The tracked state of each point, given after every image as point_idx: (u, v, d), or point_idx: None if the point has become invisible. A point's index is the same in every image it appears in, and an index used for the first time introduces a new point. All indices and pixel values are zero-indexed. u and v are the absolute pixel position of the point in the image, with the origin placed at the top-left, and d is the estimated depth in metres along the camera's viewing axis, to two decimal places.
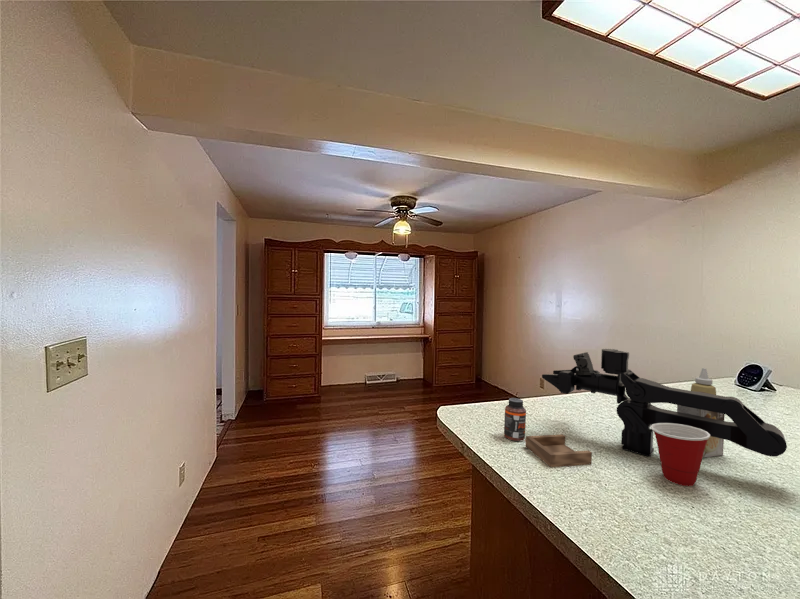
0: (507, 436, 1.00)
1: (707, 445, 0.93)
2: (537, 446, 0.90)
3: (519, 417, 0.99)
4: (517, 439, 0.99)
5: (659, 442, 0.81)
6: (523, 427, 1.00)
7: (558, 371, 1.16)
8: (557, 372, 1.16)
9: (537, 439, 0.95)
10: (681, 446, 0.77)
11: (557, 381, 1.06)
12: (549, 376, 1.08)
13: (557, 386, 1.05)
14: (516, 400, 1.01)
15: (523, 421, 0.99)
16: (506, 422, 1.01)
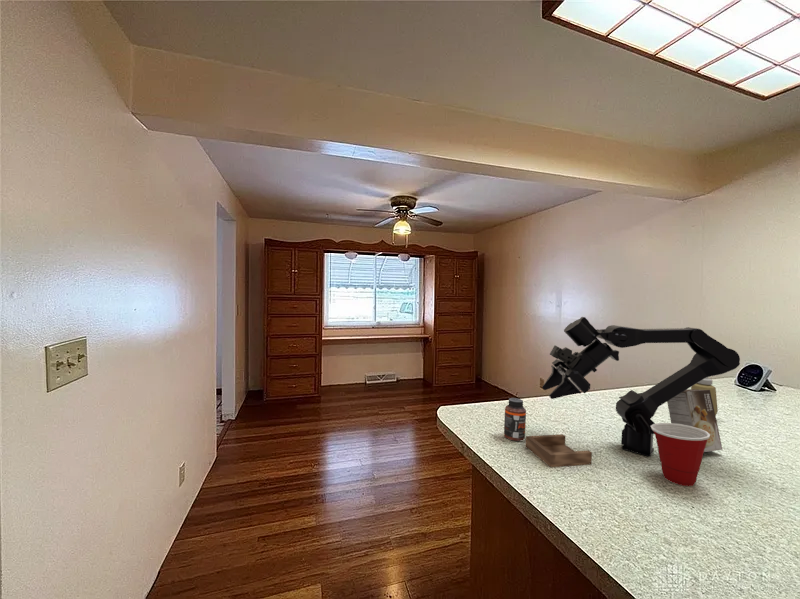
0: (507, 436, 1.00)
1: None
2: (537, 446, 0.90)
3: (519, 417, 0.99)
4: (517, 439, 0.99)
5: (659, 442, 0.81)
6: (523, 427, 1.00)
7: (546, 384, 1.05)
8: (546, 385, 1.05)
9: (537, 439, 0.95)
10: (681, 446, 0.77)
11: (567, 388, 0.94)
12: (557, 391, 0.95)
13: (573, 392, 0.93)
14: (516, 400, 1.01)
15: (523, 421, 0.99)
16: (506, 422, 1.01)
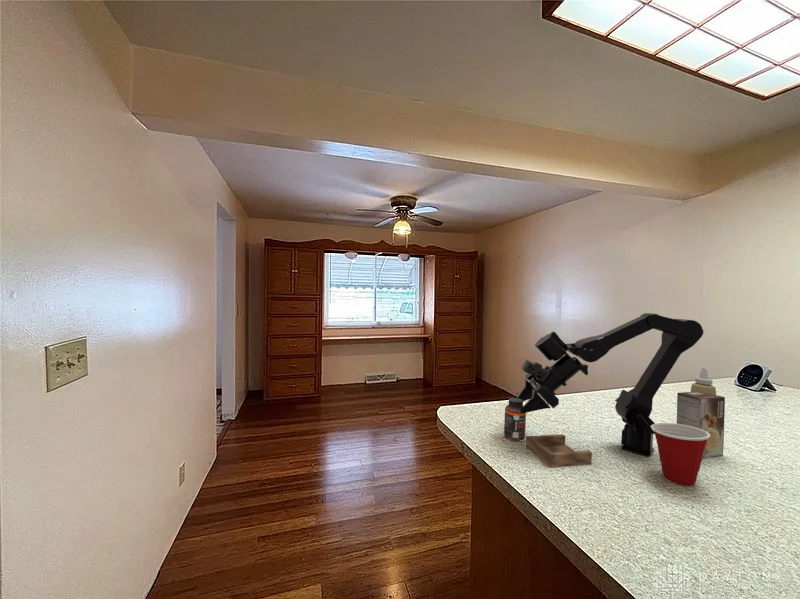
0: (507, 436, 1.00)
1: (707, 445, 0.93)
2: (537, 446, 0.90)
3: (519, 417, 0.99)
4: (517, 439, 0.99)
5: (659, 442, 0.81)
6: (523, 427, 1.00)
7: (519, 397, 1.06)
8: None
9: (537, 439, 0.95)
10: (681, 446, 0.77)
11: (537, 403, 0.95)
12: (528, 405, 0.96)
13: (542, 407, 0.94)
14: (516, 400, 1.01)
15: (523, 421, 0.99)
16: (506, 422, 1.01)
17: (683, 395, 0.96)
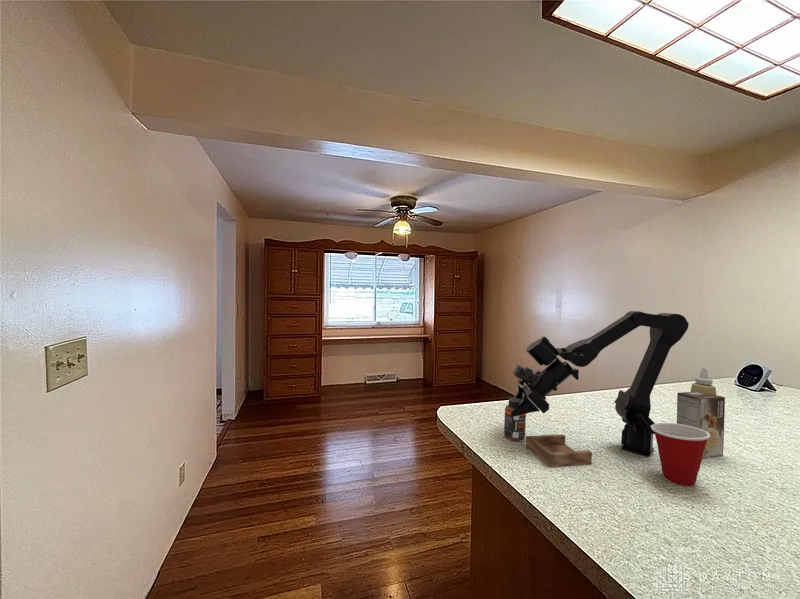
0: (507, 436, 1.00)
1: (707, 445, 0.93)
2: (537, 446, 0.90)
3: (519, 417, 0.99)
4: (517, 439, 0.99)
5: (659, 442, 0.81)
6: (523, 427, 1.00)
7: None
8: None
9: (537, 439, 0.95)
10: (681, 446, 0.77)
11: (527, 406, 0.97)
12: (518, 409, 0.98)
13: (532, 410, 0.96)
14: (516, 400, 1.01)
15: (523, 421, 0.99)
16: (506, 422, 1.01)
17: (683, 395, 0.96)
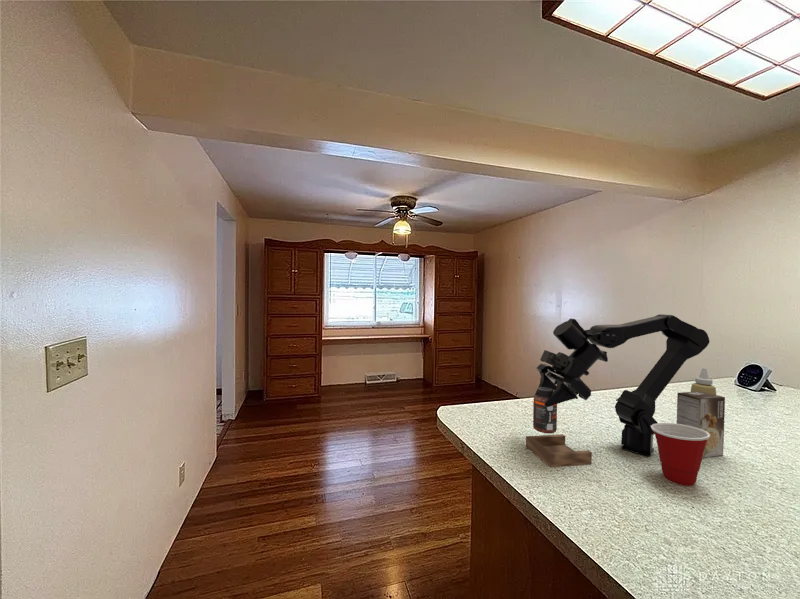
0: (540, 429, 0.92)
1: (707, 445, 0.93)
2: (537, 446, 0.90)
3: (553, 407, 0.91)
4: (551, 431, 0.91)
5: (659, 442, 0.81)
6: (556, 417, 0.92)
7: None
8: None
9: (537, 439, 0.95)
10: (681, 446, 0.77)
11: (563, 394, 0.90)
12: (553, 398, 0.90)
13: (569, 398, 0.89)
14: (546, 389, 0.93)
15: (556, 411, 0.92)
16: (538, 414, 0.92)
17: (683, 395, 0.96)
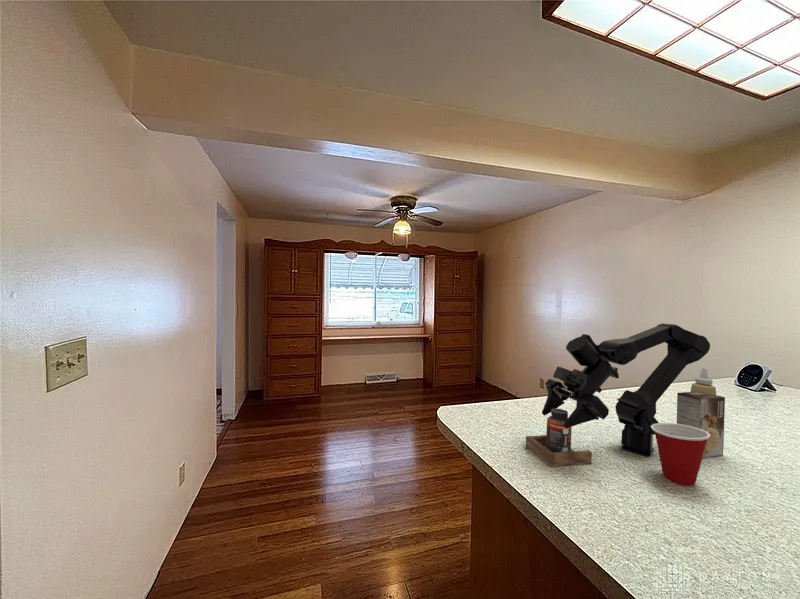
0: None
1: (707, 445, 0.93)
2: (537, 446, 0.90)
3: (568, 430, 0.88)
4: None
5: (659, 442, 0.81)
6: (570, 440, 0.90)
7: (546, 408, 0.95)
8: (546, 410, 0.95)
9: (537, 439, 0.95)
10: (681, 446, 0.77)
11: (583, 414, 0.86)
12: (573, 419, 0.86)
13: (589, 418, 0.86)
14: (561, 411, 0.90)
15: (570, 434, 0.89)
16: (553, 437, 0.89)
17: (683, 395, 0.96)
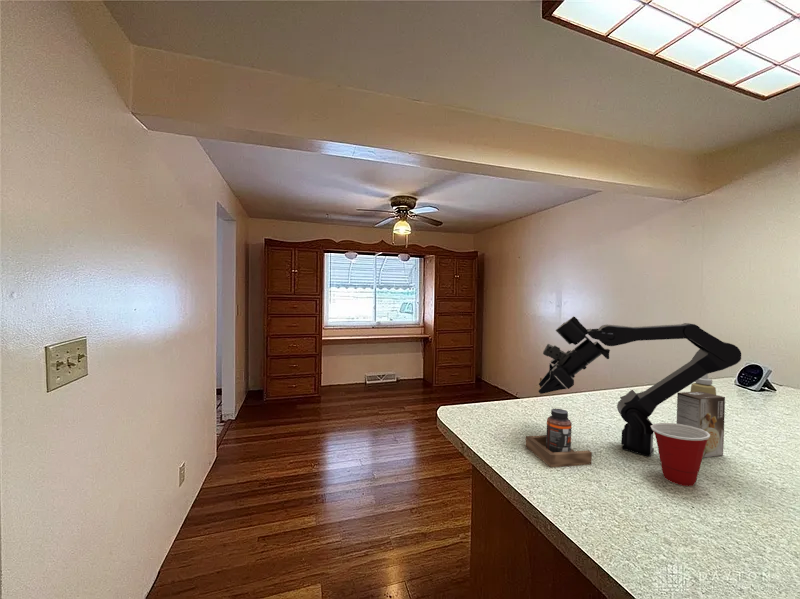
0: None
1: (707, 445, 0.93)
2: (537, 446, 0.90)
3: (568, 430, 0.88)
4: None
5: (659, 442, 0.81)
6: (570, 440, 0.90)
7: (542, 380, 1.10)
8: (542, 382, 1.10)
9: (537, 439, 0.95)
10: (681, 446, 0.77)
11: (555, 384, 0.99)
12: (545, 386, 1.00)
13: (559, 387, 0.98)
14: (561, 411, 0.90)
15: (570, 434, 0.89)
16: (553, 437, 0.89)
17: (683, 395, 0.96)
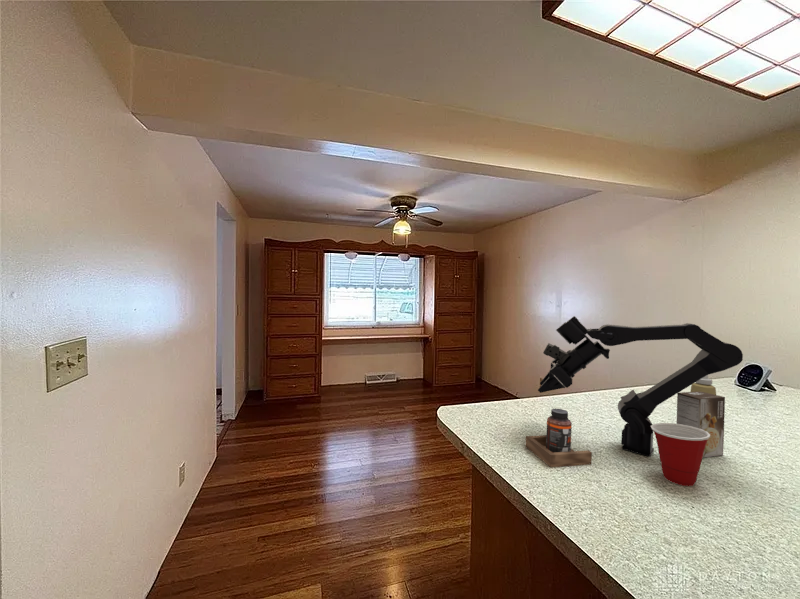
0: None
1: (707, 445, 0.93)
2: (537, 446, 0.90)
3: (568, 430, 0.88)
4: None
5: (659, 442, 0.81)
6: (570, 440, 0.90)
7: (543, 380, 1.11)
8: (543, 381, 1.11)
9: (537, 439, 0.95)
10: (681, 446, 0.77)
11: (554, 383, 1.00)
12: (544, 385, 1.02)
13: (558, 386, 0.99)
14: (561, 411, 0.90)
15: None
16: (553, 437, 0.89)
17: (683, 395, 0.96)
